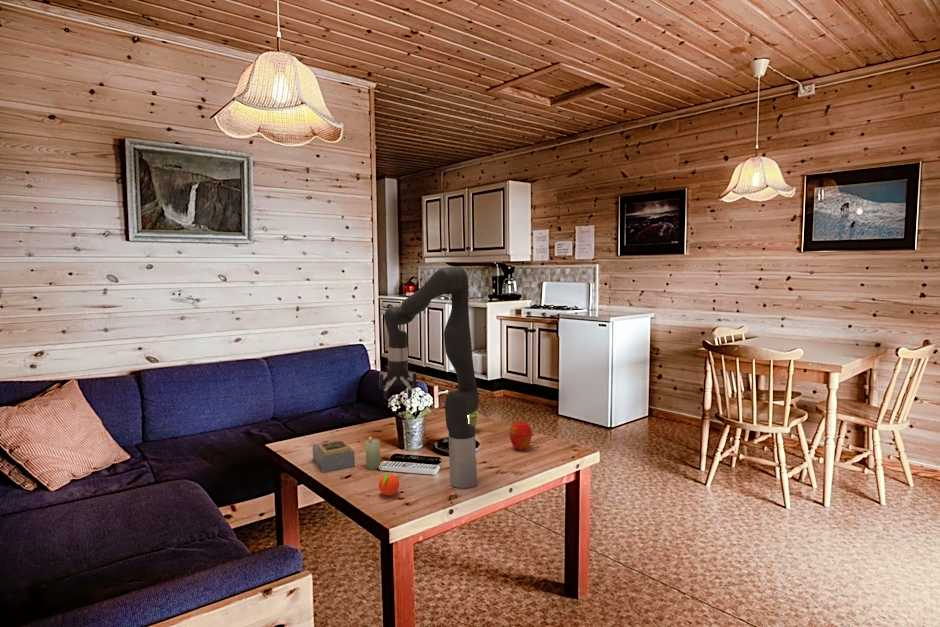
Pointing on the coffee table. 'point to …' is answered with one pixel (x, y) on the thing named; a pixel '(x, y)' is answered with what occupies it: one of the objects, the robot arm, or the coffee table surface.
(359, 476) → the coffee table surface
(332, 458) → the grey open box
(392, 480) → the clementine
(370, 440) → the pale green candle
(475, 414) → the plant pot
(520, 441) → the apple
